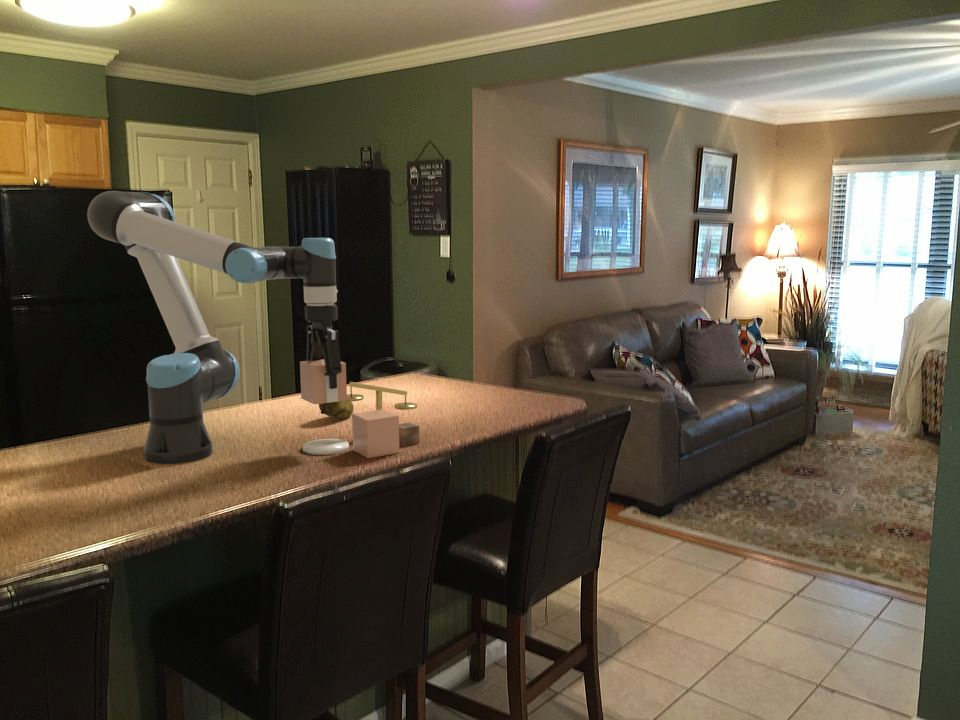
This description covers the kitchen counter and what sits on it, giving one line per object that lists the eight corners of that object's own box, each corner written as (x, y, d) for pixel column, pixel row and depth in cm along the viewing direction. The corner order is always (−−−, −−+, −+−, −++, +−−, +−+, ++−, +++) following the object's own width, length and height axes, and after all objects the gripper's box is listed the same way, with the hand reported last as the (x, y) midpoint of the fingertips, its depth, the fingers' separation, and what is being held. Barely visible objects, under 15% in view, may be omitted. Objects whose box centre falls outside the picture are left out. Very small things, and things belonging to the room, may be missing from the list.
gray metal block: (403, 446, 197) (403, 428, 196) (394, 442, 201) (394, 424, 200) (419, 443, 200) (419, 425, 199) (410, 439, 203) (410, 422, 203)
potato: (365, 416, 228) (364, 389, 226) (329, 425, 218) (328, 396, 217) (346, 412, 233) (345, 385, 232) (310, 420, 223) (309, 392, 222)
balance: (346, 442, 200) (344, 385, 198) (336, 437, 205) (334, 381, 202) (421, 430, 212) (420, 376, 209) (410, 426, 217) (409, 373, 214)
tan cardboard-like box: (368, 458, 187) (367, 420, 185) (353, 450, 194) (352, 413, 192) (399, 452, 191) (398, 415, 190) (383, 445, 198) (382, 409, 196)
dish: (313, 457, 187) (313, 453, 187) (295, 447, 196) (295, 443, 196) (356, 450, 193) (356, 446, 193) (337, 440, 202) (337, 436, 202)
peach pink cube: (314, 404, 187) (312, 366, 186) (301, 398, 194) (299, 361, 192) (346, 400, 192) (345, 363, 190) (333, 394, 198) (331, 358, 197)
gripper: (354, 306, 183) (357, 404, 186) (318, 300, 200) (322, 389, 203) (323, 308, 178) (327, 408, 182) (289, 301, 196) (293, 393, 199)
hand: (324, 398), depth 193 cm, fingers closed on peach pink cube, 8 cm apart
